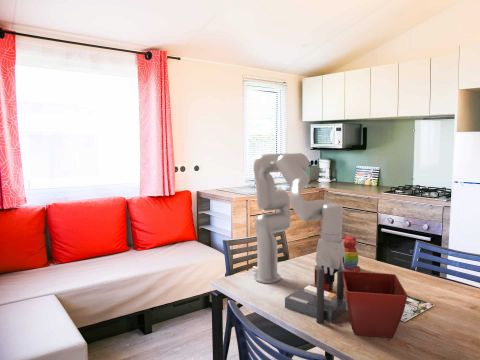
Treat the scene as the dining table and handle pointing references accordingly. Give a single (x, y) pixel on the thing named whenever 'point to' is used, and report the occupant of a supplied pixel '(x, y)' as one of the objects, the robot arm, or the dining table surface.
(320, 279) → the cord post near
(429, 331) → the dining table surface
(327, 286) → the canned food
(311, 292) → the paddle
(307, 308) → the breaker panel
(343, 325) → the dining table surface
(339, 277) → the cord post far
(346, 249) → the stacking bear
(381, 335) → the plant pot
